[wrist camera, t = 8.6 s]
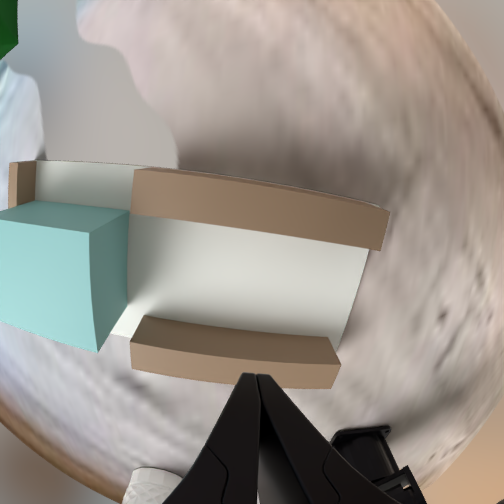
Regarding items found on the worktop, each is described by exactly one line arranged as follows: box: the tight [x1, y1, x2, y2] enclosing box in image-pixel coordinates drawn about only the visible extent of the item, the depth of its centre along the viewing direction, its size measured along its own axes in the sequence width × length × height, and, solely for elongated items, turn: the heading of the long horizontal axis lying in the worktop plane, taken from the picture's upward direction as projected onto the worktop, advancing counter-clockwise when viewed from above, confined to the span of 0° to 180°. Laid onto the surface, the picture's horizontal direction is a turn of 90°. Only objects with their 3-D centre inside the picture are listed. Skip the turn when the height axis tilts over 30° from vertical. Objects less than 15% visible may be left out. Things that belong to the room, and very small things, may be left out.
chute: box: [8, 160, 390, 389], centre depth 15 cm, size 22×11×4 cm, turn 80°
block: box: [0, 200, 129, 353], centre depth 13 cm, size 7×6×5 cm
